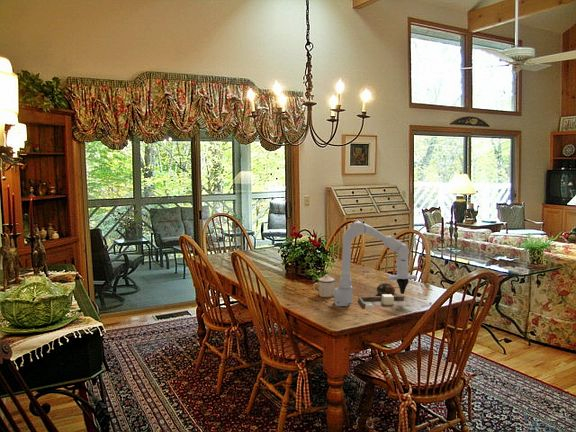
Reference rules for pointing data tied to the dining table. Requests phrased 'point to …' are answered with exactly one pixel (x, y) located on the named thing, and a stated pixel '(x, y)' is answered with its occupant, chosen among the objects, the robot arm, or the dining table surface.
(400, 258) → the robot arm
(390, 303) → the cream block
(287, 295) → the dining table surface
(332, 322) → the dining table surface
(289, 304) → the dining table surface
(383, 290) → the decorative turtle
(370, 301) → the trap box
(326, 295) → the teacup with lid
